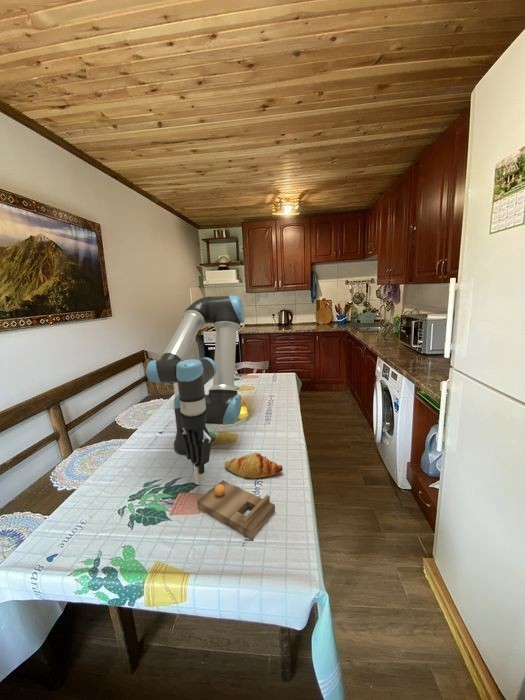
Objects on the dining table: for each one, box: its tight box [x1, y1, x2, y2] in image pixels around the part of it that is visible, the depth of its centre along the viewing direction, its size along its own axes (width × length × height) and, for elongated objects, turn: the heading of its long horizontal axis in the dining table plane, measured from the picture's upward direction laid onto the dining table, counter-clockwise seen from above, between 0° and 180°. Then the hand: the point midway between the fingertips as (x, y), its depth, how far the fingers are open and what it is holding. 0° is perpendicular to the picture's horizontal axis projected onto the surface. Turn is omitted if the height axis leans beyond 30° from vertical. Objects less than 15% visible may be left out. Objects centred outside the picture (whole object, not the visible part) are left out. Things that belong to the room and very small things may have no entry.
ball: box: [214, 483, 225, 496], centre depth 85 cm, size 3×3×3 cm
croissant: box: [224, 452, 284, 479], centre depth 100 cm, size 21×10×8 cm, turn 78°
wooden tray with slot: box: [196, 480, 276, 540], centre depth 82 cm, size 20×11×4 cm, turn 55°
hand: (199, 481), depth 90 cm, fingers closed
